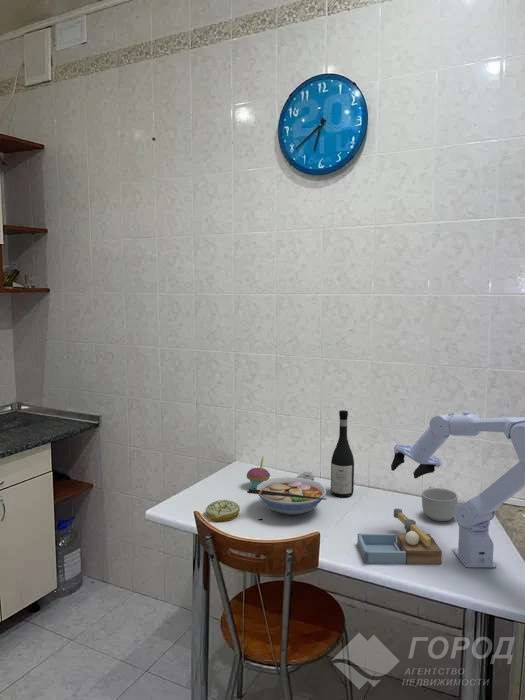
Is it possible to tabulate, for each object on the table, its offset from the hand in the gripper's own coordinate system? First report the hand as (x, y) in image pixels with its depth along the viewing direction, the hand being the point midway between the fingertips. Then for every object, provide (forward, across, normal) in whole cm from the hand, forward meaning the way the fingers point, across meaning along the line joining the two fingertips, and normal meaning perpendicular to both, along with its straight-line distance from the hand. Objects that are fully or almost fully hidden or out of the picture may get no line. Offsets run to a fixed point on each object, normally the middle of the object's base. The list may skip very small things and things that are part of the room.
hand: (403, 471), depth 154 cm
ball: (0, 0, +25) cm, 25 cm away
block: (+3, -3, +24) cm, 24 cm away
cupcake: (+44, +33, -11) cm, 56 cm away
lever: (+3, -2, +17) cm, 18 cm away
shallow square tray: (+6, +6, +26) cm, 27 cm away
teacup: (+12, -19, +2) cm, 22 cm away
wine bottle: (+31, +6, -10) cm, 33 cm away
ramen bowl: (+29, +25, +5) cm, 39 cm away
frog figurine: (+37, +18, -11) cm, 42 cm away
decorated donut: (+34, +46, +11) cm, 59 cm away
